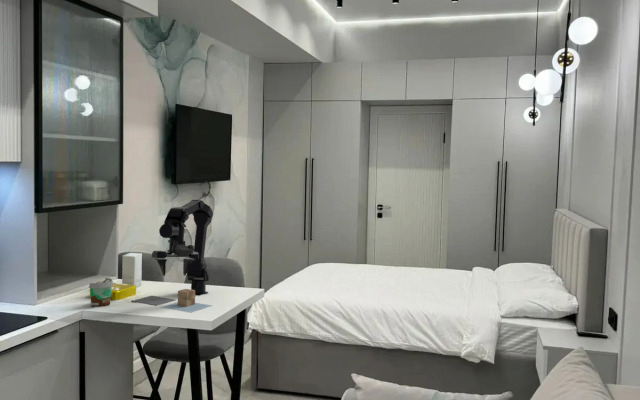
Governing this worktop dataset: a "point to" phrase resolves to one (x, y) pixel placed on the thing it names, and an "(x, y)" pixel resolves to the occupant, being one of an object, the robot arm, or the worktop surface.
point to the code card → (187, 309)
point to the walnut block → (186, 297)
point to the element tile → (122, 291)
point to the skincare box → (132, 269)
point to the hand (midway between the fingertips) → (174, 275)
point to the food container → (101, 293)
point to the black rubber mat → (153, 300)
